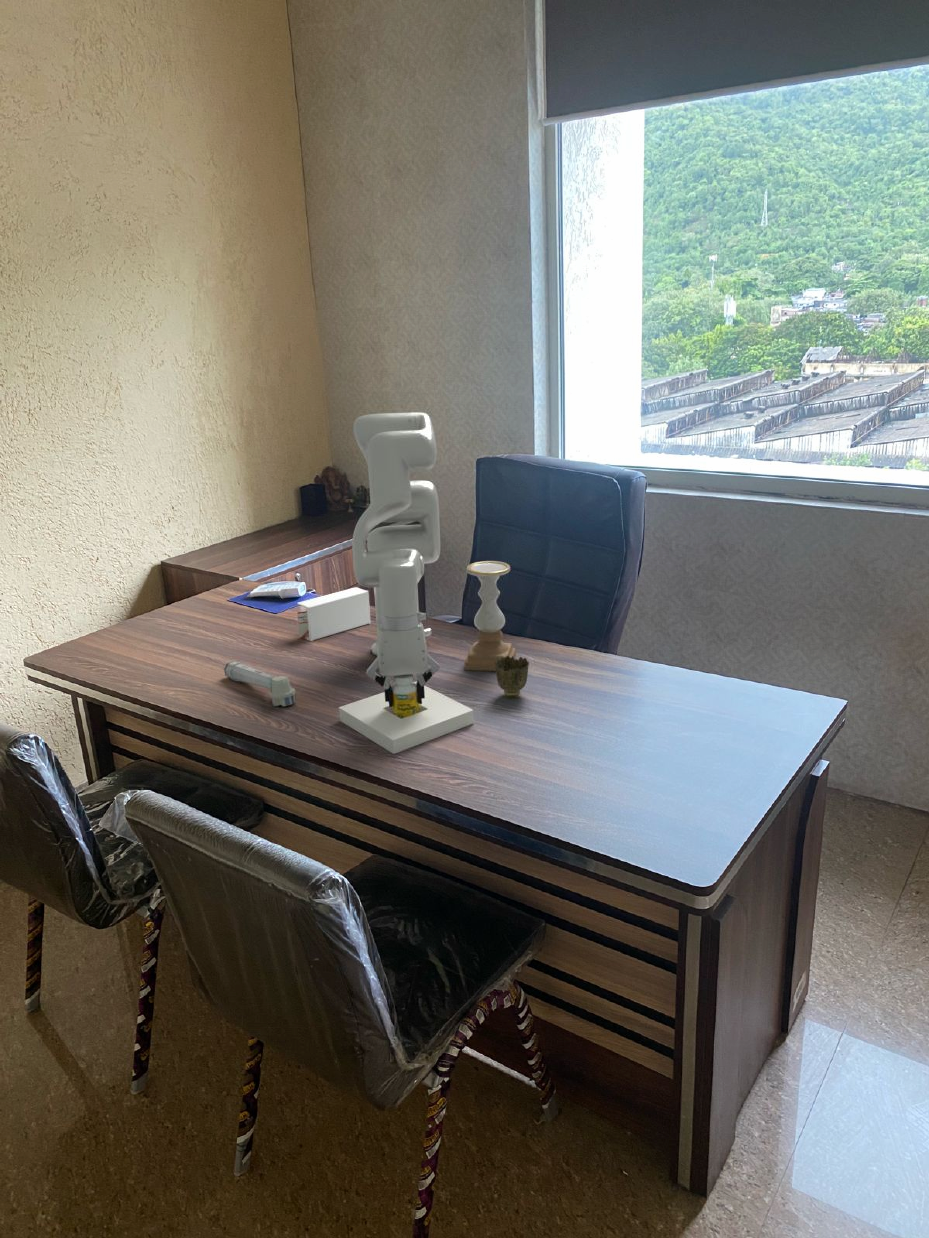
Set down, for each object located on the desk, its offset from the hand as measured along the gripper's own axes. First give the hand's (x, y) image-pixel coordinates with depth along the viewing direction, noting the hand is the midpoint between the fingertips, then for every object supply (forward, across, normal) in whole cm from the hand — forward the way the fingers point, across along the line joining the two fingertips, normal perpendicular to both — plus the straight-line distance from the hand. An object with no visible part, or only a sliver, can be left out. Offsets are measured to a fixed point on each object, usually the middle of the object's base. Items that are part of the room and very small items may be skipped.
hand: (405, 702), depth 189 cm
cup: (+5, -24, -8) cm, 26 cm away
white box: (+5, +14, -59) cm, 61 cm away
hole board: (+4, 0, 0) cm, 4 cm away
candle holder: (+5, -23, -28) cm, 37 cm away
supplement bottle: (+4, 0, 0) cm, 4 cm away
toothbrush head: (+5, +31, -23) cm, 39 cm away
